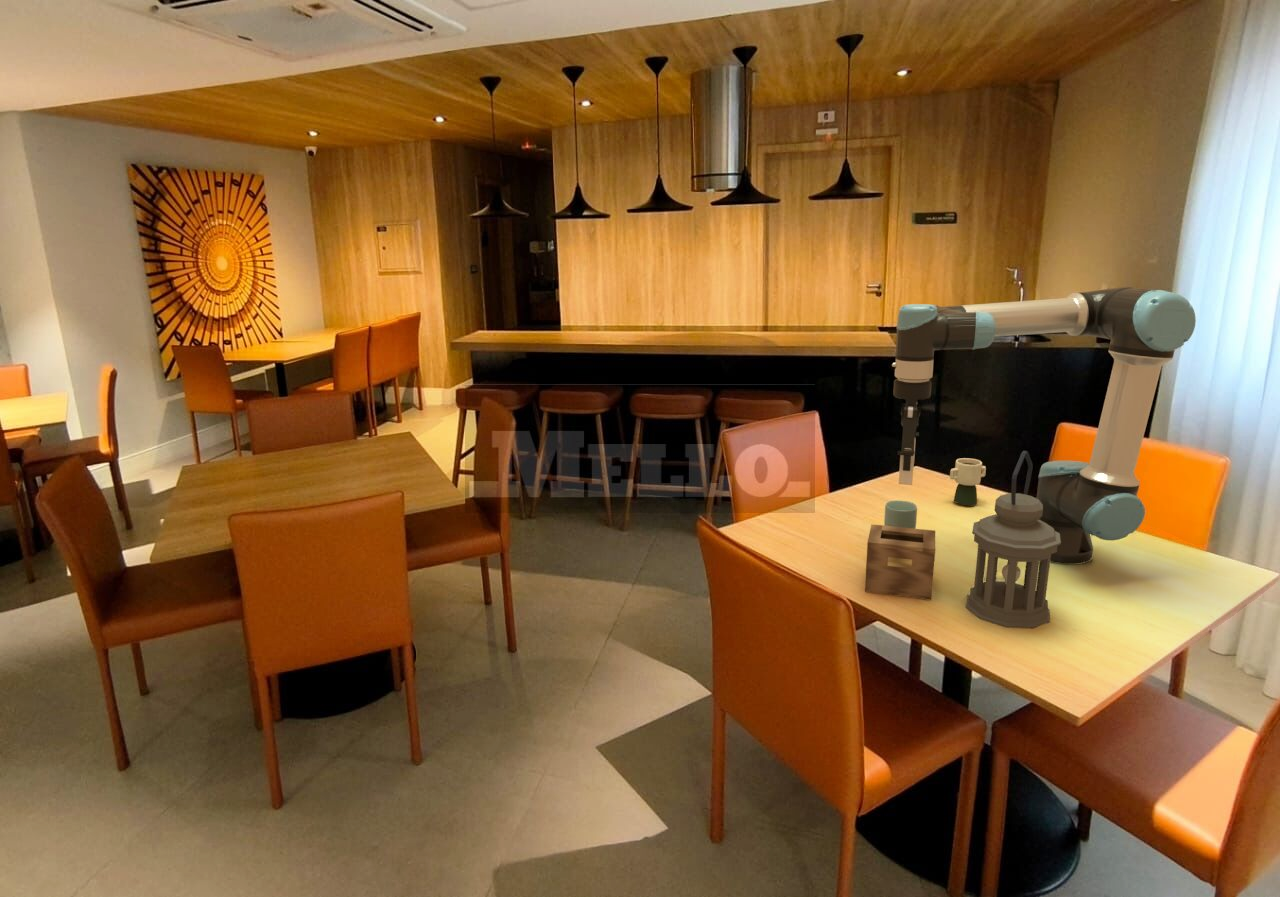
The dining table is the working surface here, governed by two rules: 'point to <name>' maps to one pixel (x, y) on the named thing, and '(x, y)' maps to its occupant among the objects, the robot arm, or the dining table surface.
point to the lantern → (1013, 560)
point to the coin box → (900, 561)
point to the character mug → (967, 480)
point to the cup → (900, 514)
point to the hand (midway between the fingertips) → (906, 474)
